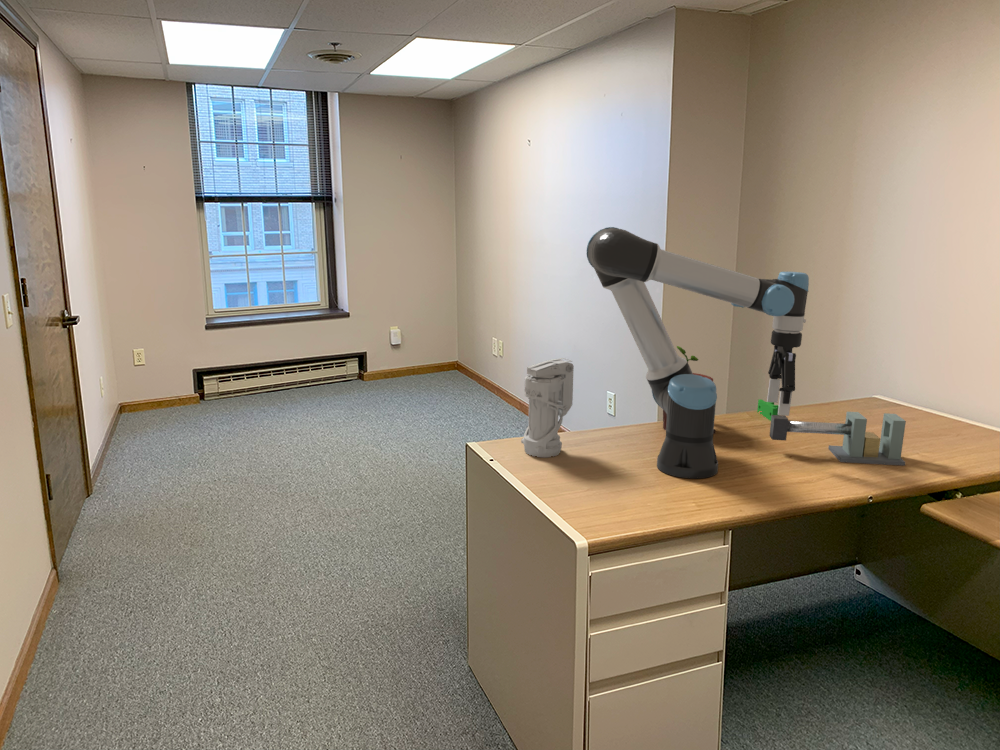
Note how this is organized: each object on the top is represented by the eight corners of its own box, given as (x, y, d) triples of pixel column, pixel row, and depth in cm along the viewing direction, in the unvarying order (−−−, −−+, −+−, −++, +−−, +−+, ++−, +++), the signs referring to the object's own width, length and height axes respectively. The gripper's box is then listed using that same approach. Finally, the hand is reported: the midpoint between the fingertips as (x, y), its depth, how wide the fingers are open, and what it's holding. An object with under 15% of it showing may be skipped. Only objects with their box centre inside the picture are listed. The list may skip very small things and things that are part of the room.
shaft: (852, 440, 197) (854, 418, 195) (856, 444, 193) (859, 422, 192) (769, 435, 200) (771, 414, 199) (772, 439, 196) (774, 418, 195)
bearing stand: (889, 452, 200) (894, 411, 197) (904, 465, 189) (910, 423, 186) (828, 448, 202) (832, 409, 199) (840, 462, 191) (845, 420, 189)
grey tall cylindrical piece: (536, 460, 191) (538, 367, 185) (516, 448, 200) (517, 360, 194) (576, 452, 197) (580, 362, 191) (556, 442, 206) (558, 355, 200)
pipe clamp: (783, 422, 228) (784, 408, 227) (771, 422, 228) (773, 408, 227) (768, 412, 239) (769, 398, 238) (757, 412, 238) (758, 399, 237)
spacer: (870, 450, 198) (873, 432, 196) (877, 457, 192) (880, 438, 191) (856, 449, 198) (859, 431, 197) (863, 456, 193) (865, 437, 192)
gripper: (814, 339, 179) (803, 422, 183) (790, 324, 203) (781, 397, 208) (783, 337, 180) (773, 419, 185) (763, 323, 204) (754, 396, 209)
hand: (777, 408), depth 196 cm, fingers open, 13 cm apart
